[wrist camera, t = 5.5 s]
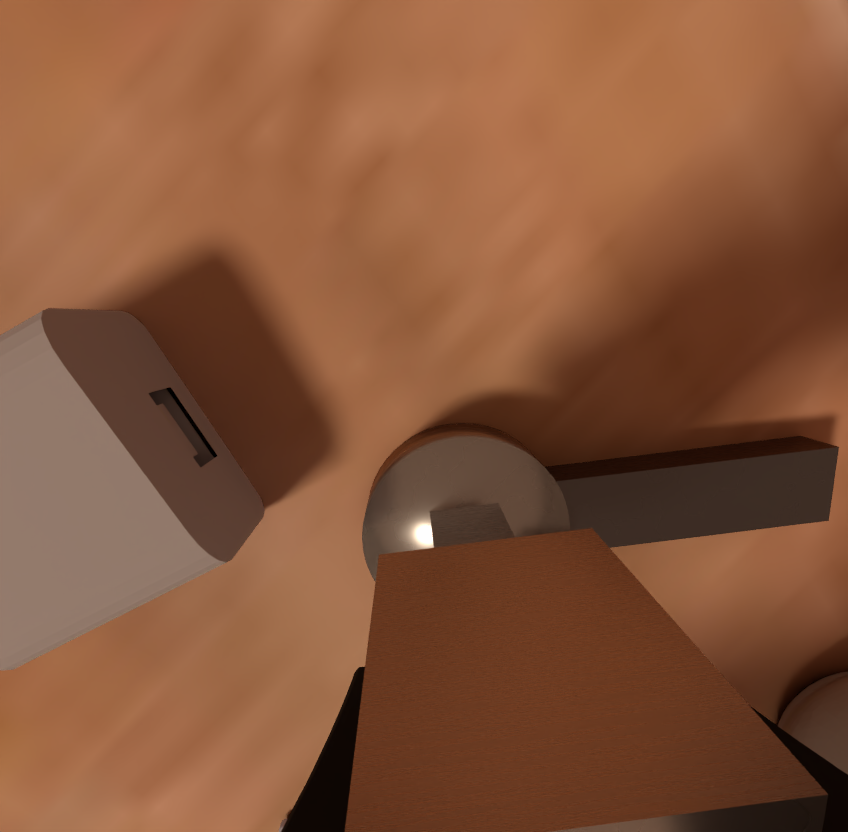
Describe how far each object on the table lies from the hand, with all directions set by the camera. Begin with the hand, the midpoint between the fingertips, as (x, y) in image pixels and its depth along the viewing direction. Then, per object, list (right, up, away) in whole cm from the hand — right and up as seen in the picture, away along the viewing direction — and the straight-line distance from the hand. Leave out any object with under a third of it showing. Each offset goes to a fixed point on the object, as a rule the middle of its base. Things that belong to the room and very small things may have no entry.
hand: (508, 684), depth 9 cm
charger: (-17, +3, +8) cm, 19 cm away
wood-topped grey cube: (0, 0, +2) cm, 2 cm away
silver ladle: (+5, +3, +8) cm, 10 cm away
